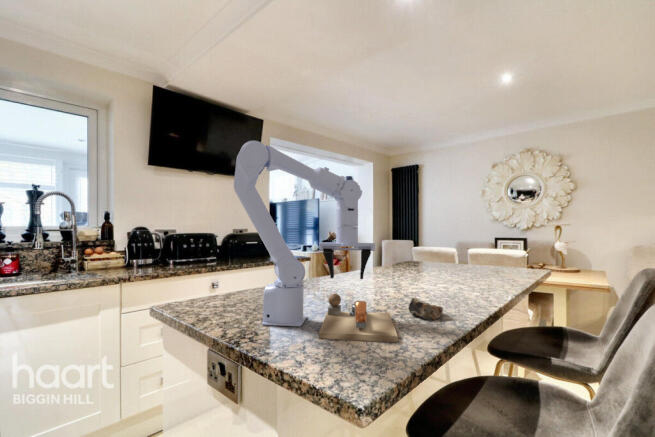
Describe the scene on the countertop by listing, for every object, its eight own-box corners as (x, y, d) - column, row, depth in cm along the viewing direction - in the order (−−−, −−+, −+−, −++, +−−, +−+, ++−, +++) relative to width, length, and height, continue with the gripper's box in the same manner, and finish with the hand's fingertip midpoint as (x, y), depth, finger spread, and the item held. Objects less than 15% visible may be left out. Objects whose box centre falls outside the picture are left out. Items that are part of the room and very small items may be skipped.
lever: (351, 306, 79) (351, 287, 79) (363, 306, 79) (363, 287, 79) (353, 327, 62) (353, 303, 62) (368, 328, 61) (368, 303, 62)
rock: (430, 324, 71) (454, 310, 76) (422, 300, 72) (447, 288, 77) (405, 323, 78) (429, 310, 83) (398, 301, 79) (422, 290, 84)
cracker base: (319, 338, 61) (319, 308, 61) (327, 315, 77) (327, 291, 77) (397, 342, 59) (397, 311, 59) (389, 317, 75) (389, 293, 75)
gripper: (317, 225, 73) (317, 279, 73) (375, 226, 72) (375, 281, 71) (321, 226, 80) (320, 275, 80) (374, 226, 79) (374, 276, 78)
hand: (346, 278), depth 76 cm, fingers open, 7 cm apart
